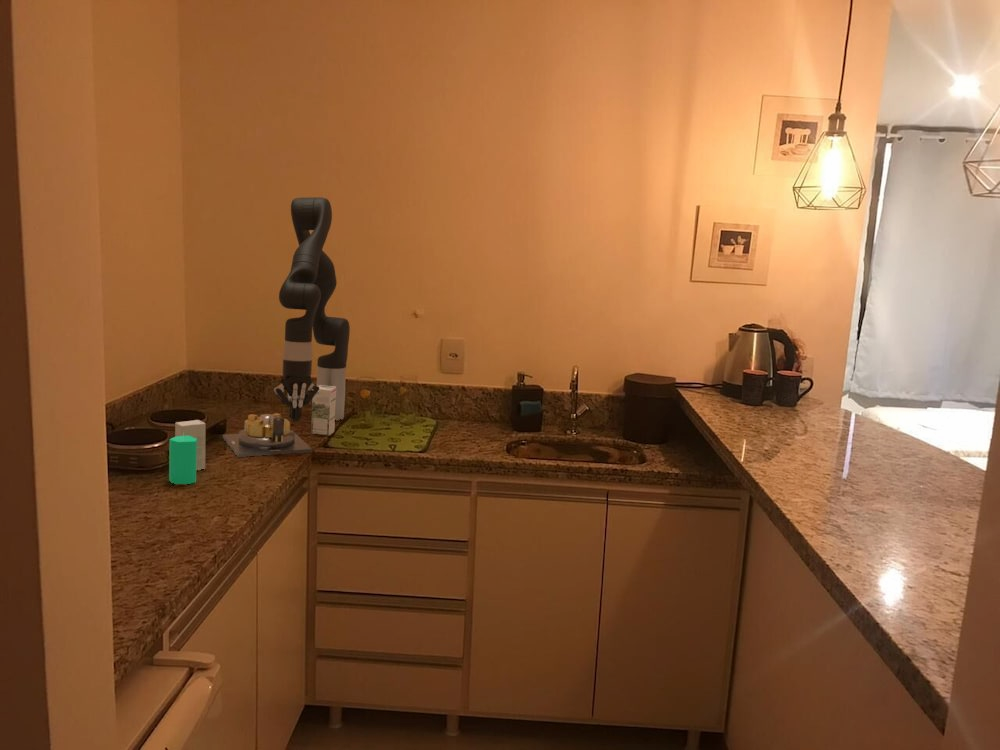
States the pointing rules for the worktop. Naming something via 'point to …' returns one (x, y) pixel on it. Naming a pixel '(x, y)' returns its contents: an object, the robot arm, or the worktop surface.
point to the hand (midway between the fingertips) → (295, 420)
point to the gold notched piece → (267, 427)
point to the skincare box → (196, 431)
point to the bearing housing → (265, 442)
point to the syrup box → (323, 410)
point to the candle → (182, 459)
